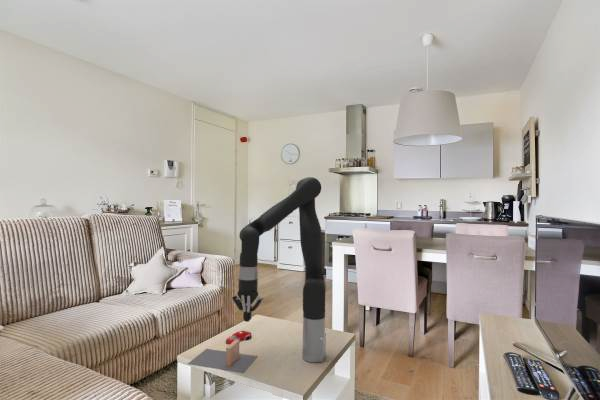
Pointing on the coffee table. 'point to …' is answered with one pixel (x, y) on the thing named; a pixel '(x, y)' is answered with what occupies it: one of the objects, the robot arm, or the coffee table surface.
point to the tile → (232, 353)
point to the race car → (239, 336)
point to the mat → (222, 361)
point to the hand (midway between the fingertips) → (247, 320)
